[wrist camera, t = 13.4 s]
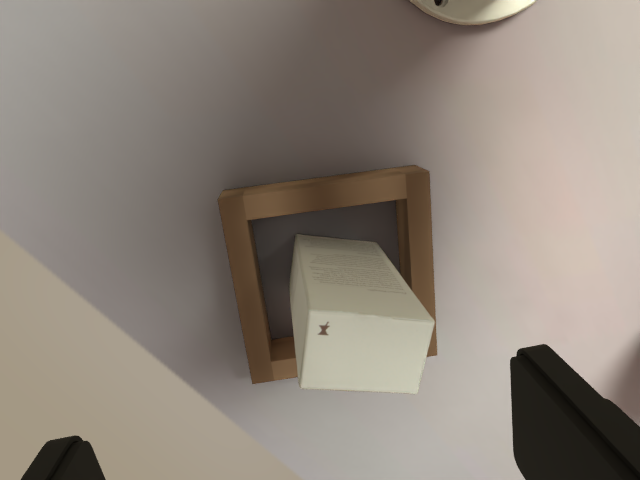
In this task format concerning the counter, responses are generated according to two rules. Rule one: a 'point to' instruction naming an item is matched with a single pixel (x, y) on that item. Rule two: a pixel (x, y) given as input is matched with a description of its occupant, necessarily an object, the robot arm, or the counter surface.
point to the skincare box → (355, 318)
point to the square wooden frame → (313, 195)
